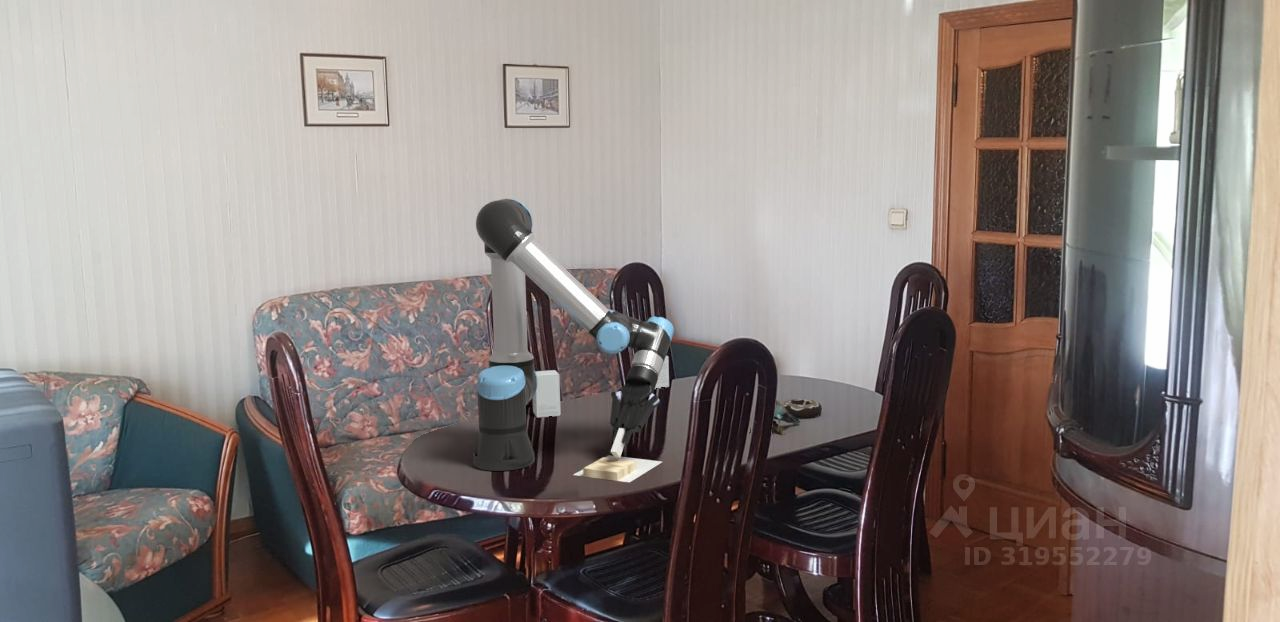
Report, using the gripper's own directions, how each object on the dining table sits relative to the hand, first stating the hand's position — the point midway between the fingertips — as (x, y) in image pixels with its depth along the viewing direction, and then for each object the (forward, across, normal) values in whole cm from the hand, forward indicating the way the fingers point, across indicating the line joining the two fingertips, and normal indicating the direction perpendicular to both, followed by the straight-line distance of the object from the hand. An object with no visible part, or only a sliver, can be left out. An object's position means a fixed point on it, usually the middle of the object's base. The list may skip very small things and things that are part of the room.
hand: (615, 454), depth 244 cm
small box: (-61, +32, -68) cm, 97 cm away
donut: (-47, -24, -54) cm, 76 cm away
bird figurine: (-32, -22, -39) cm, 55 cm away
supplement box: (-28, +46, -35) cm, 65 cm away
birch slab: (0, 0, -4) cm, 4 cm away
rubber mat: (+2, 0, -4) cm, 5 cm away
